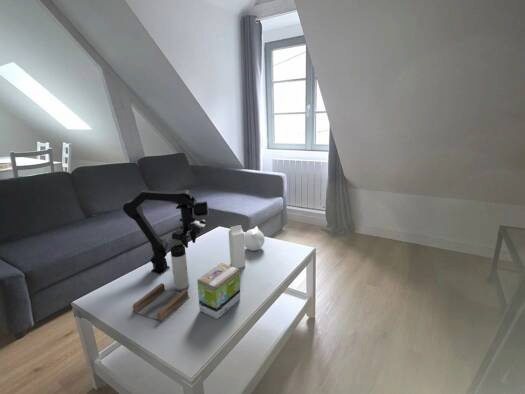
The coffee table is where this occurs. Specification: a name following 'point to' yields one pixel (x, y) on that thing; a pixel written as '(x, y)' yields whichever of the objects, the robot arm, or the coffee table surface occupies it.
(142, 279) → the coffee table surface
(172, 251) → the travel mug
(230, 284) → the tea box
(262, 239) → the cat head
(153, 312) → the cradle
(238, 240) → the milk
